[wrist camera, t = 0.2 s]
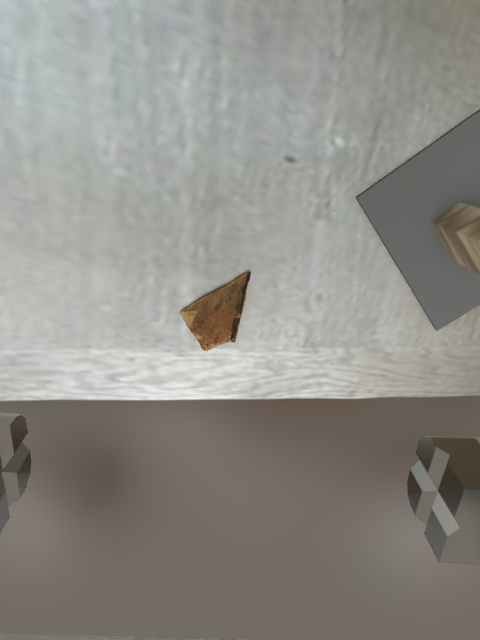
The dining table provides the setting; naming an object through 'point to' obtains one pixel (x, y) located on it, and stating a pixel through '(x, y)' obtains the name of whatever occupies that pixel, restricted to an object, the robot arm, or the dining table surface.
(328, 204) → the dining table surface
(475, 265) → the birch block
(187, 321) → the shard
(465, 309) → the rubber mat
